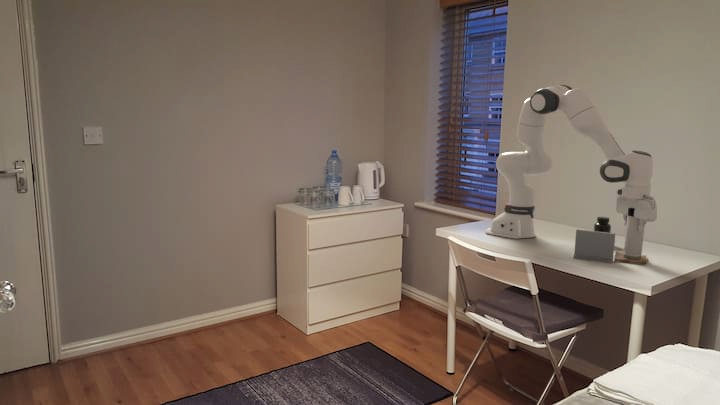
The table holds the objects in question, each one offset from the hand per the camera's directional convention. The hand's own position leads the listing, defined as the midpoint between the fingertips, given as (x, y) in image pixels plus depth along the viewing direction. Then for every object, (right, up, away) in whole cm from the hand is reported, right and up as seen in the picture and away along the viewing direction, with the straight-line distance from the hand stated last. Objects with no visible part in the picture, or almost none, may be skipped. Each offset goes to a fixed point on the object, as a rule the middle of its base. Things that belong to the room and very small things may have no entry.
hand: (633, 228), depth 205 cm
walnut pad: (0, -13, +2) cm, 13 cm away
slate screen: (-15, -12, +2) cm, 20 cm away
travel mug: (0, -12, +2) cm, 12 cm away
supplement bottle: (-1, -9, +26) cm, 28 cm away
